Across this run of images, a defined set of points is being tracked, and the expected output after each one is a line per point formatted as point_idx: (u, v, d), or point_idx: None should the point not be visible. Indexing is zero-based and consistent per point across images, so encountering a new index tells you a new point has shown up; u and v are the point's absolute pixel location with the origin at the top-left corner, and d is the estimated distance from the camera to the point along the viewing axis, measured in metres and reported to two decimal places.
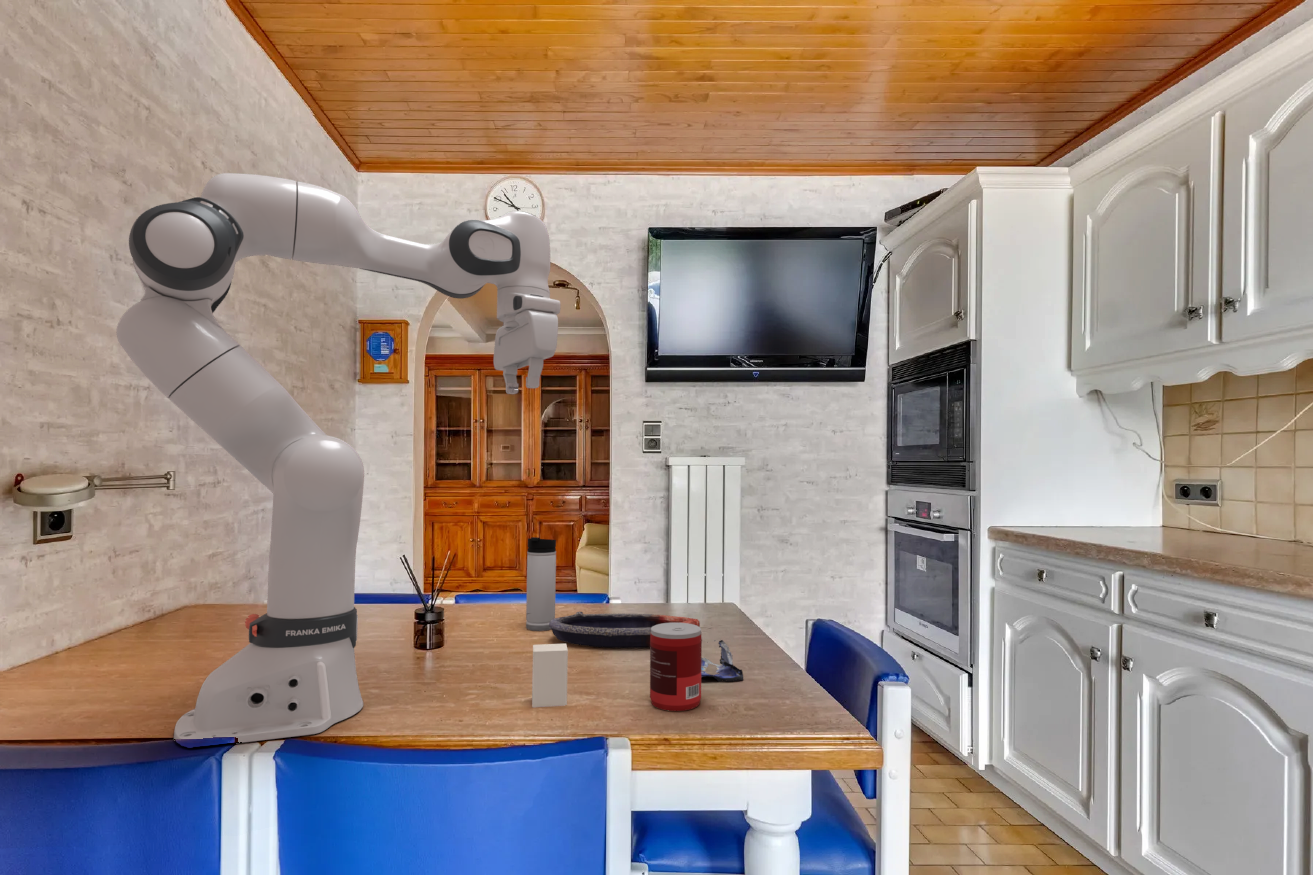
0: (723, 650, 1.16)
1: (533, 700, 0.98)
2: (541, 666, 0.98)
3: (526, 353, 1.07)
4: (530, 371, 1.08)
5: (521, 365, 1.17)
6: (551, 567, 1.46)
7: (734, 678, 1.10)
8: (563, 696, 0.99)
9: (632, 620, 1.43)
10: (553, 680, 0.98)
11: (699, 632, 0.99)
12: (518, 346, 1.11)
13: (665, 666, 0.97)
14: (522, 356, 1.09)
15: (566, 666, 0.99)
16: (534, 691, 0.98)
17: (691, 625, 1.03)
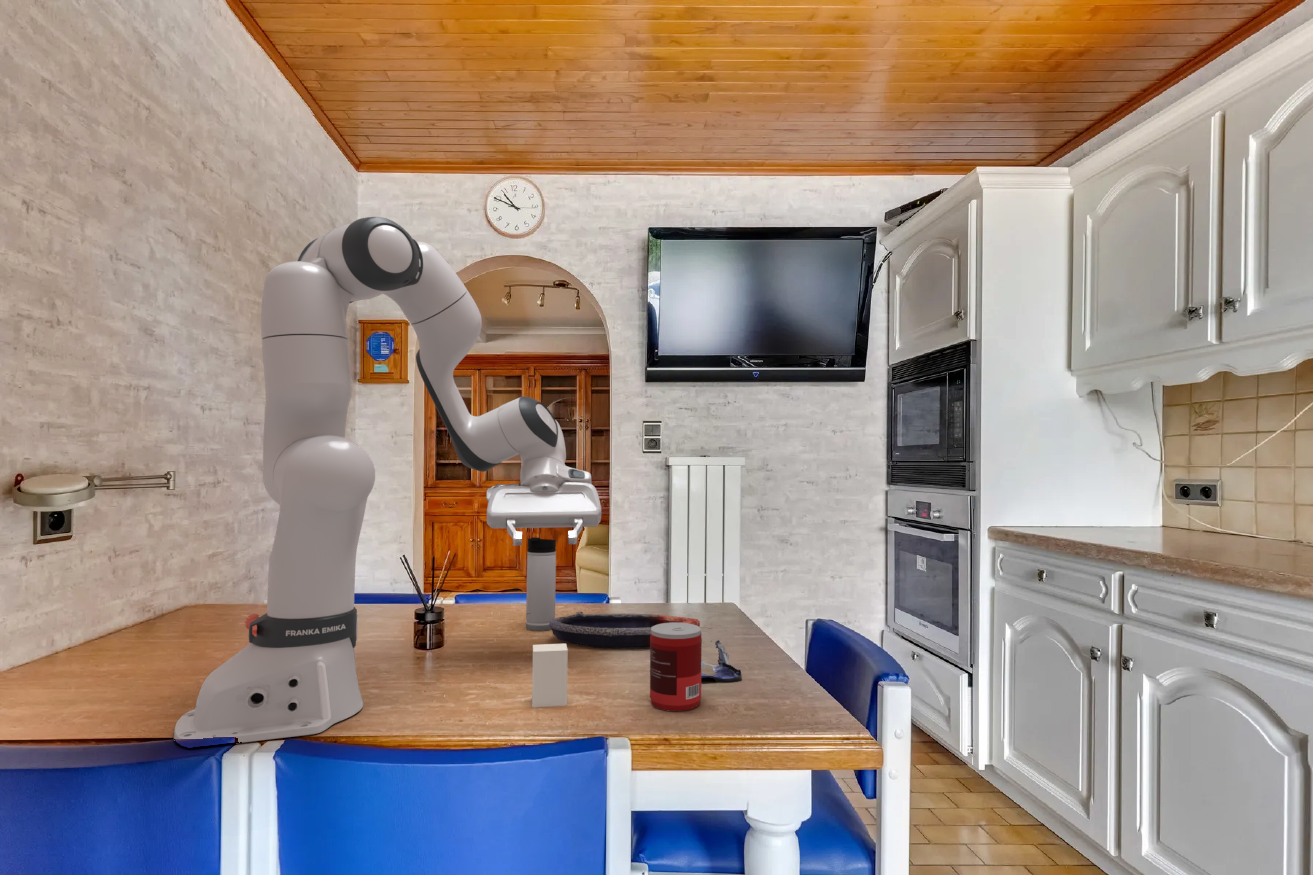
0: (720, 650, 1.16)
1: (533, 700, 0.98)
2: (541, 666, 0.98)
3: (581, 512, 1.20)
4: (579, 527, 1.18)
5: (525, 525, 1.19)
6: (551, 567, 1.46)
7: (733, 679, 1.10)
8: (563, 696, 0.99)
9: (632, 620, 1.43)
10: (553, 680, 0.98)
11: (699, 632, 0.99)
12: (560, 505, 1.20)
13: (665, 666, 0.97)
14: (570, 513, 1.19)
15: (566, 666, 0.99)
16: (534, 691, 0.98)
17: (691, 625, 1.03)
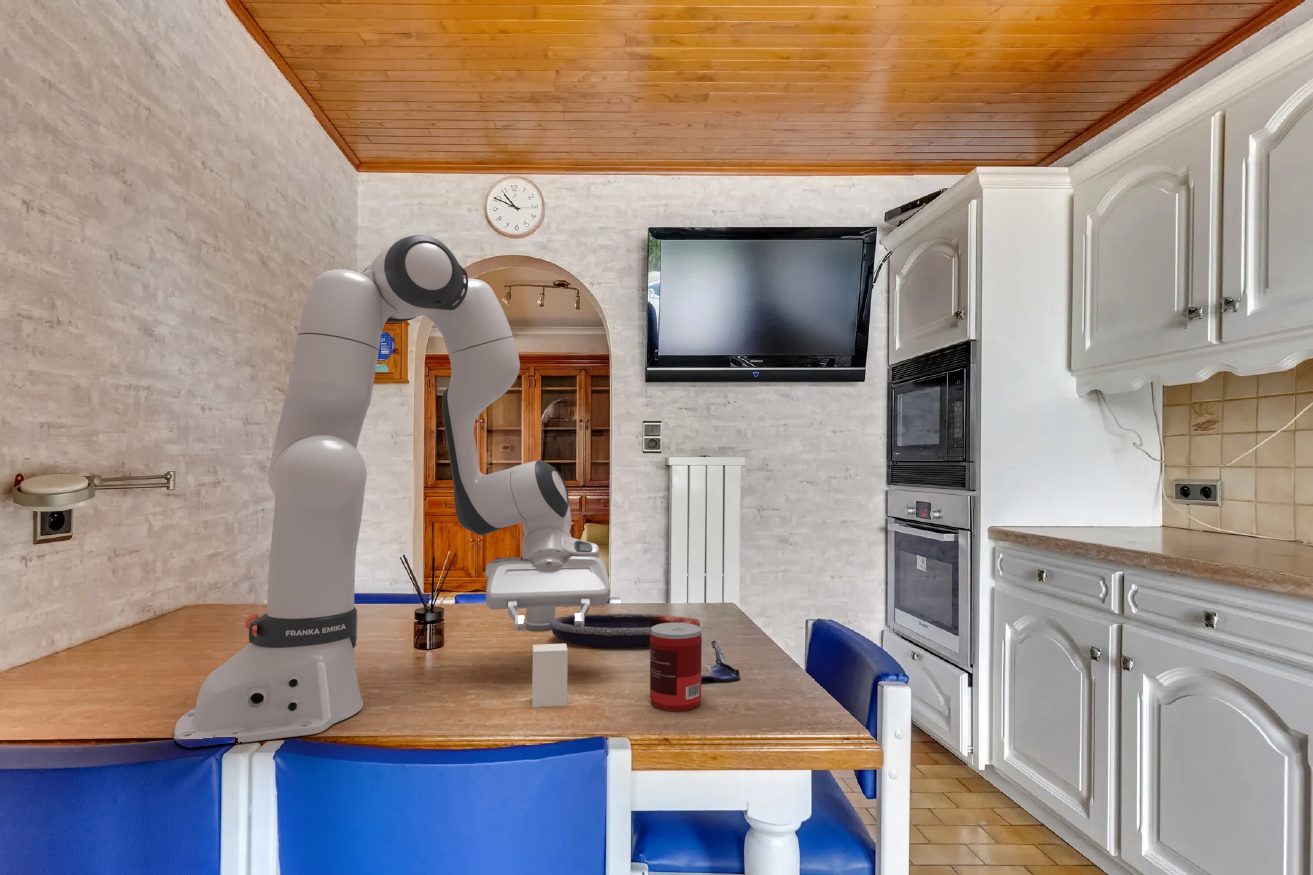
0: (716, 651, 1.15)
1: (533, 700, 0.98)
2: (541, 666, 0.98)
3: (588, 591, 1.10)
4: (586, 609, 1.09)
5: (527, 605, 1.10)
6: None
7: (732, 678, 1.10)
8: (563, 696, 0.99)
9: (632, 620, 1.43)
10: (553, 680, 0.98)
11: (699, 632, 0.99)
12: (566, 583, 1.11)
13: (665, 666, 0.97)
14: (577, 593, 1.10)
15: (566, 666, 0.99)
16: (534, 691, 0.98)
17: (691, 625, 1.03)
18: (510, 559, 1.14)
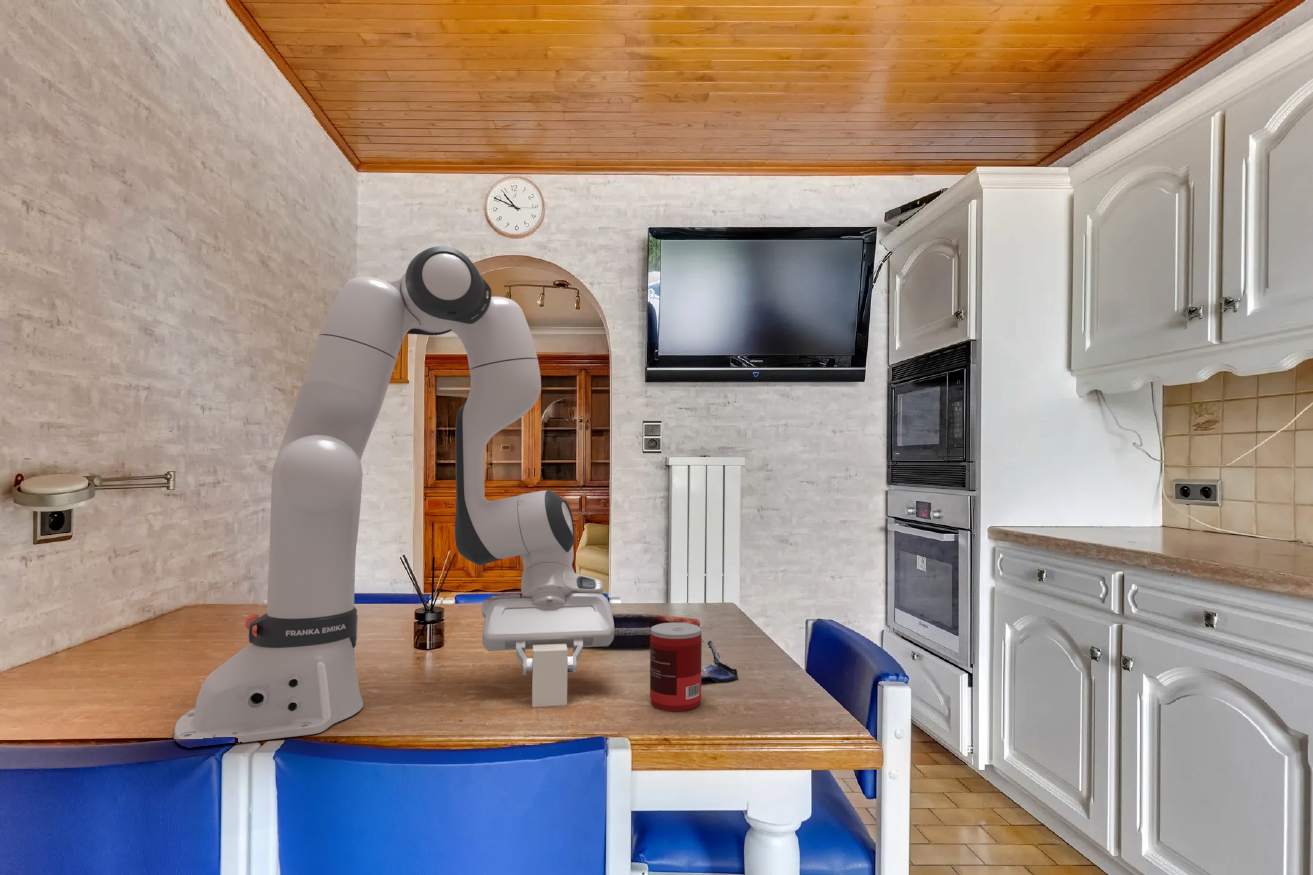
0: None
1: (533, 700, 0.98)
2: (541, 666, 0.98)
3: (591, 632, 1.04)
4: (579, 651, 1.02)
5: (526, 646, 1.03)
6: None
7: (731, 678, 1.11)
8: (563, 696, 0.99)
9: (632, 621, 1.42)
10: (553, 680, 0.98)
11: (699, 632, 0.99)
12: (567, 622, 1.04)
13: (665, 666, 0.97)
14: (579, 633, 1.03)
15: (566, 666, 0.99)
16: (534, 691, 0.98)
17: (691, 625, 1.03)
18: (509, 596, 1.08)
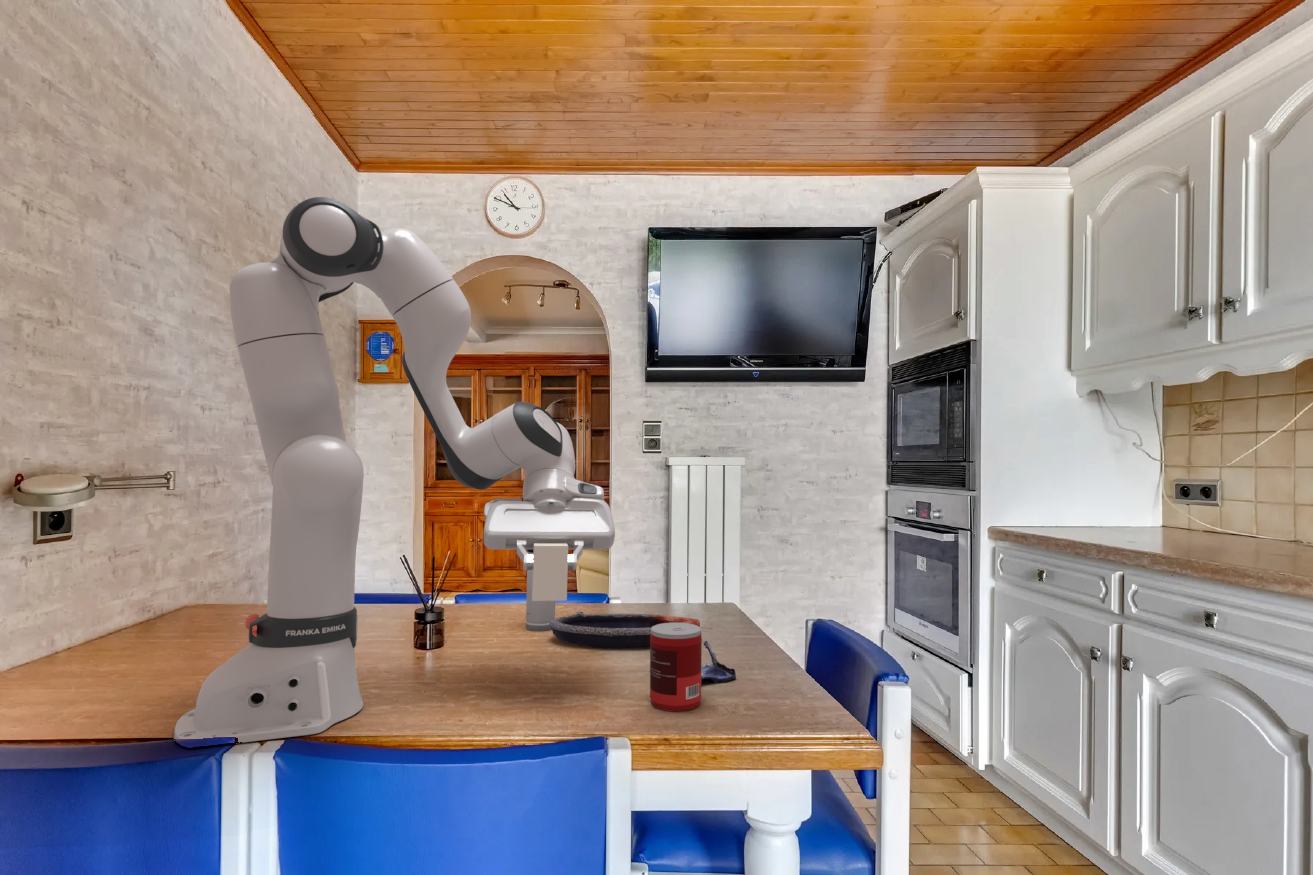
0: None
1: (533, 594, 0.98)
2: (542, 561, 0.99)
3: (592, 533, 1.04)
4: (579, 550, 1.02)
5: (527, 546, 1.04)
6: None
7: (729, 678, 1.11)
8: (563, 591, 0.99)
9: (632, 620, 1.43)
10: (553, 575, 0.99)
11: (699, 632, 0.99)
12: (568, 524, 1.05)
13: (665, 666, 0.97)
14: (579, 534, 1.04)
15: (566, 561, 1.00)
16: (534, 585, 0.98)
17: (691, 625, 1.03)
18: (510, 500, 1.09)
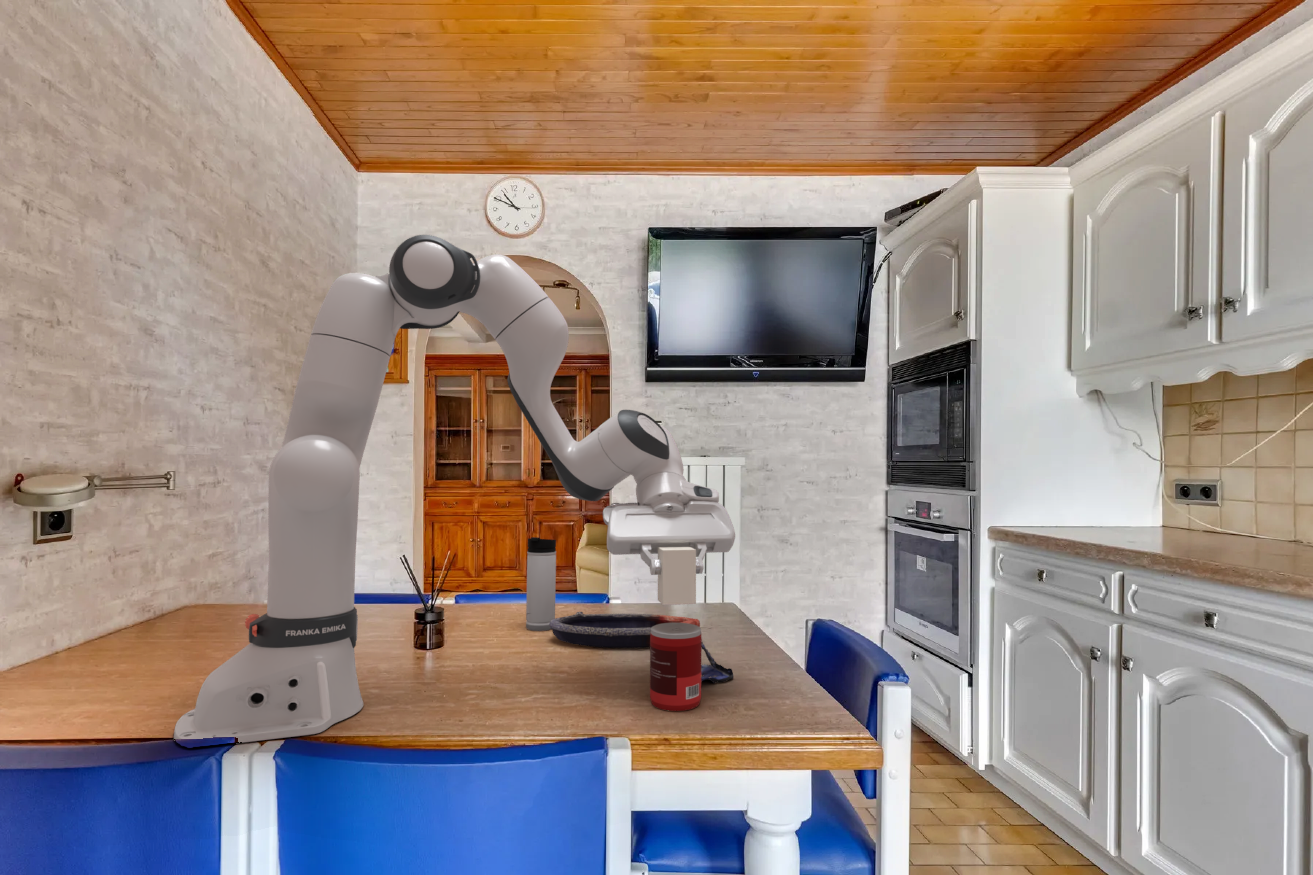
0: None
1: (663, 598, 0.99)
2: (671, 565, 0.99)
3: (714, 536, 1.04)
4: (704, 554, 1.03)
5: None
6: (551, 567, 1.46)
7: (728, 678, 1.11)
8: (692, 594, 1.00)
9: (632, 620, 1.43)
10: (682, 579, 0.99)
11: (699, 632, 0.99)
12: (689, 527, 1.05)
13: (665, 666, 0.97)
14: (702, 537, 1.04)
15: (694, 565, 1.00)
16: (664, 589, 0.99)
17: (691, 625, 1.03)
18: (627, 504, 1.09)
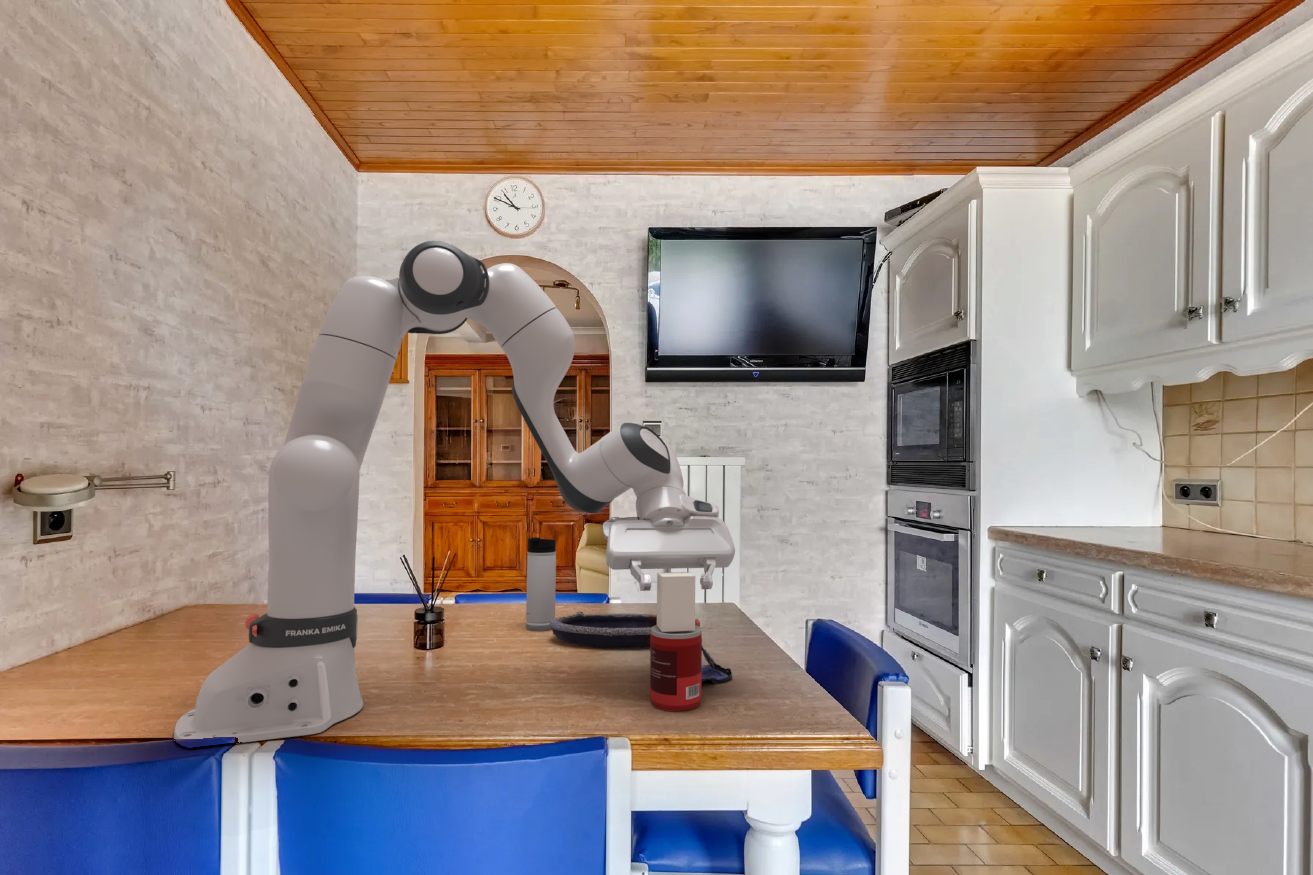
0: None
1: (662, 624, 0.98)
2: (670, 591, 0.99)
3: (713, 552, 1.04)
4: (713, 569, 1.03)
5: (649, 566, 1.04)
6: (551, 567, 1.46)
7: (727, 678, 1.11)
8: (691, 621, 0.99)
9: (632, 620, 1.43)
10: (681, 606, 0.99)
11: (699, 632, 0.99)
12: (689, 543, 1.05)
13: (665, 666, 0.97)
14: (702, 553, 1.04)
15: (694, 592, 1.00)
16: (663, 616, 0.99)
17: None
18: (626, 518, 1.09)
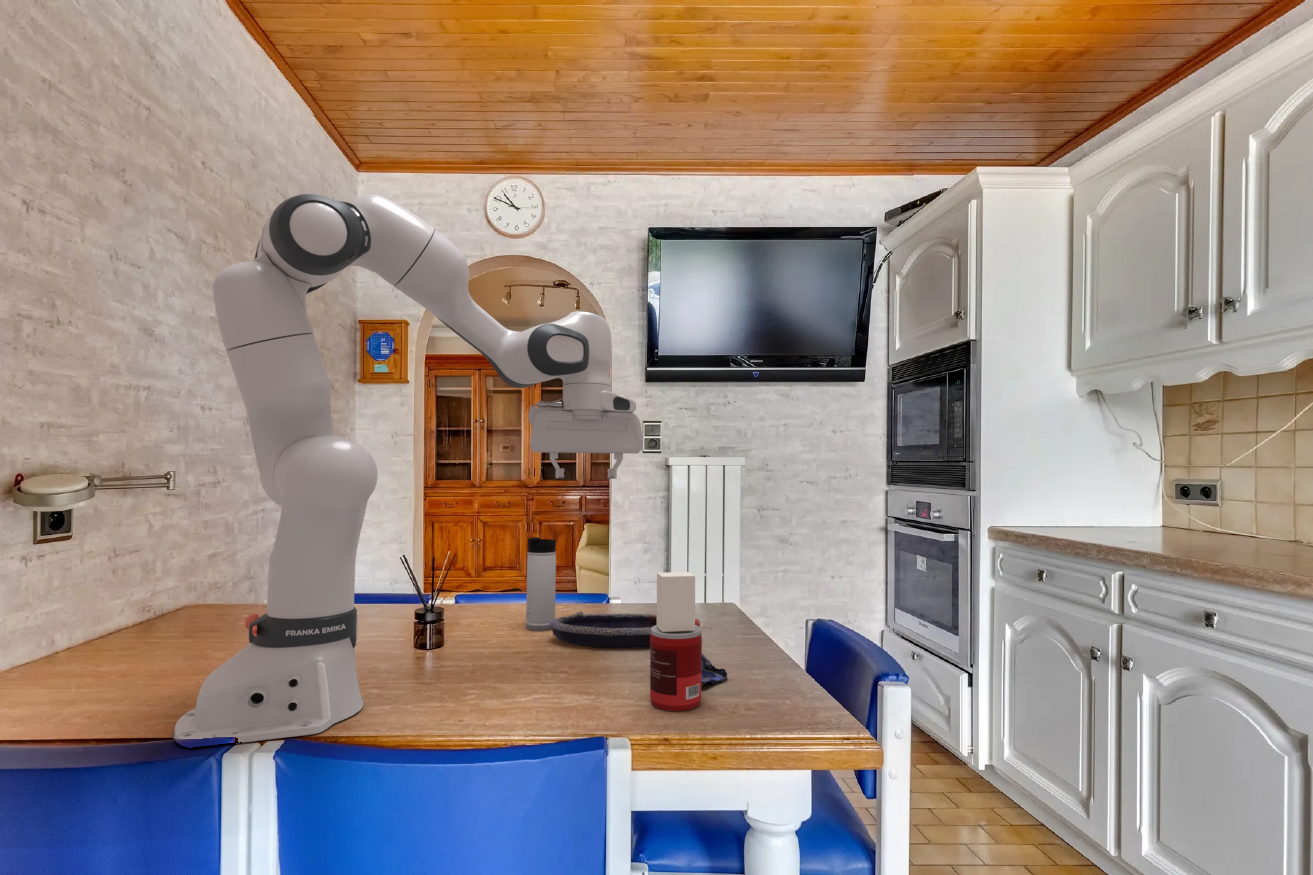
0: None
1: (662, 625, 0.98)
2: (670, 591, 0.99)
3: (622, 450, 1.21)
4: None
5: None
6: (551, 567, 1.46)
7: (724, 678, 1.11)
8: (691, 621, 0.99)
9: (632, 620, 1.42)
10: (681, 606, 0.99)
11: (699, 632, 0.99)
12: (603, 439, 1.21)
13: (665, 666, 0.97)
14: (612, 450, 1.21)
15: (694, 592, 1.00)
16: (663, 616, 0.99)
17: None
18: (552, 404, 1.20)
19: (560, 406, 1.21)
